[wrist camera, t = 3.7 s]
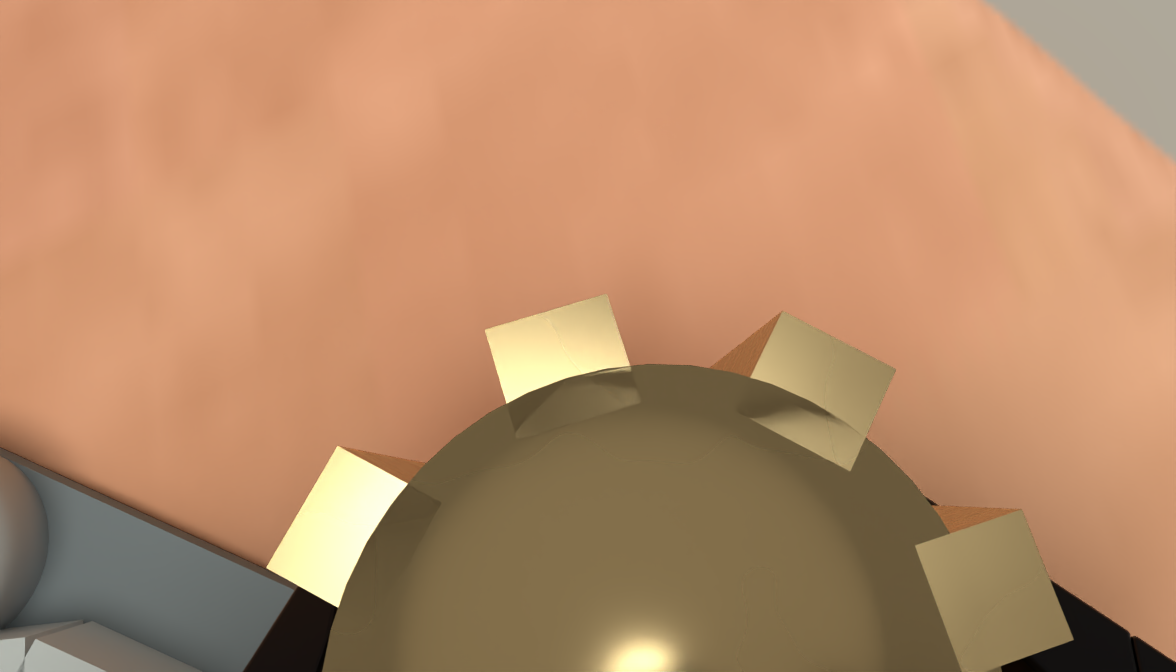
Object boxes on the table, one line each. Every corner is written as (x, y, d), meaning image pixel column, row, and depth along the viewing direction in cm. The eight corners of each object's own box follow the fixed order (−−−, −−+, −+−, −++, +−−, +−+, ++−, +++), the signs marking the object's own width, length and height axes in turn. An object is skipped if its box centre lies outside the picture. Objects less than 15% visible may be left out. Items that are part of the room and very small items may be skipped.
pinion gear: (787, 500, 17) (1194, 522, 6) (658, 778, 16) (882, 1401, 5) (534, 367, 17) (500, 166, 6) (391, 630, 16) (62, 916, 5)
